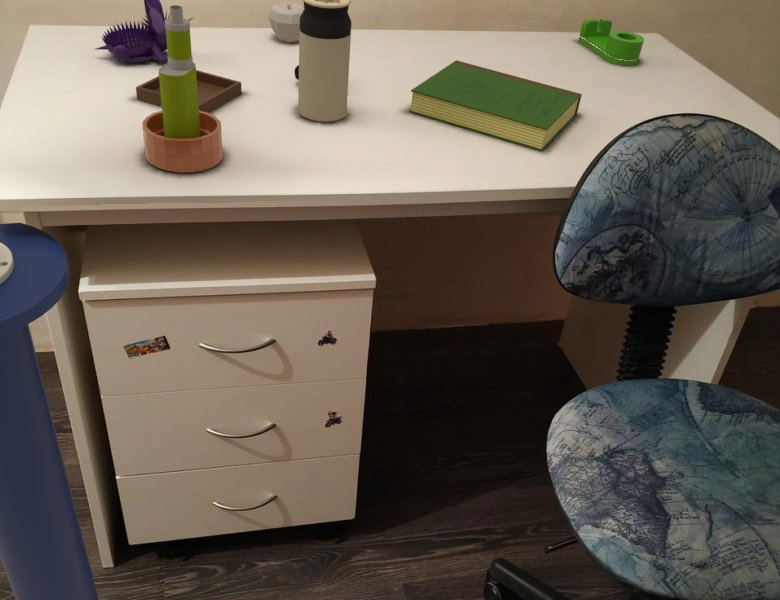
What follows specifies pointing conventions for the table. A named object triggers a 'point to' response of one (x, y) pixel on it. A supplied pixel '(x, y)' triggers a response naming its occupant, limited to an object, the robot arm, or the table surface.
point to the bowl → (183, 145)
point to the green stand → (611, 42)
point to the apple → (286, 21)
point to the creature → (140, 37)
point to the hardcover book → (496, 104)
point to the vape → (179, 80)
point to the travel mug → (324, 59)
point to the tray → (209, 91)
